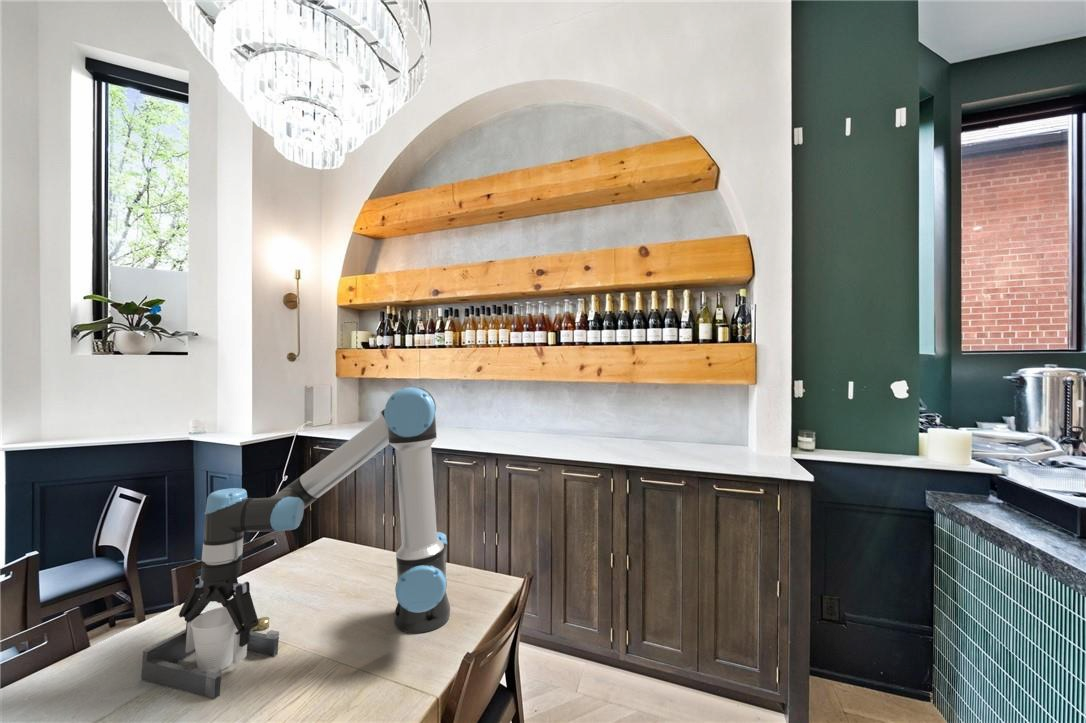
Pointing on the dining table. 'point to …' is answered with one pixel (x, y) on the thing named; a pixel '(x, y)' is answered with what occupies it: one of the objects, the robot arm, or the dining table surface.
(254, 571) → the dining table surface
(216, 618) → the cup
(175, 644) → the grey u-shaped bracket
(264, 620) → the brass key block
